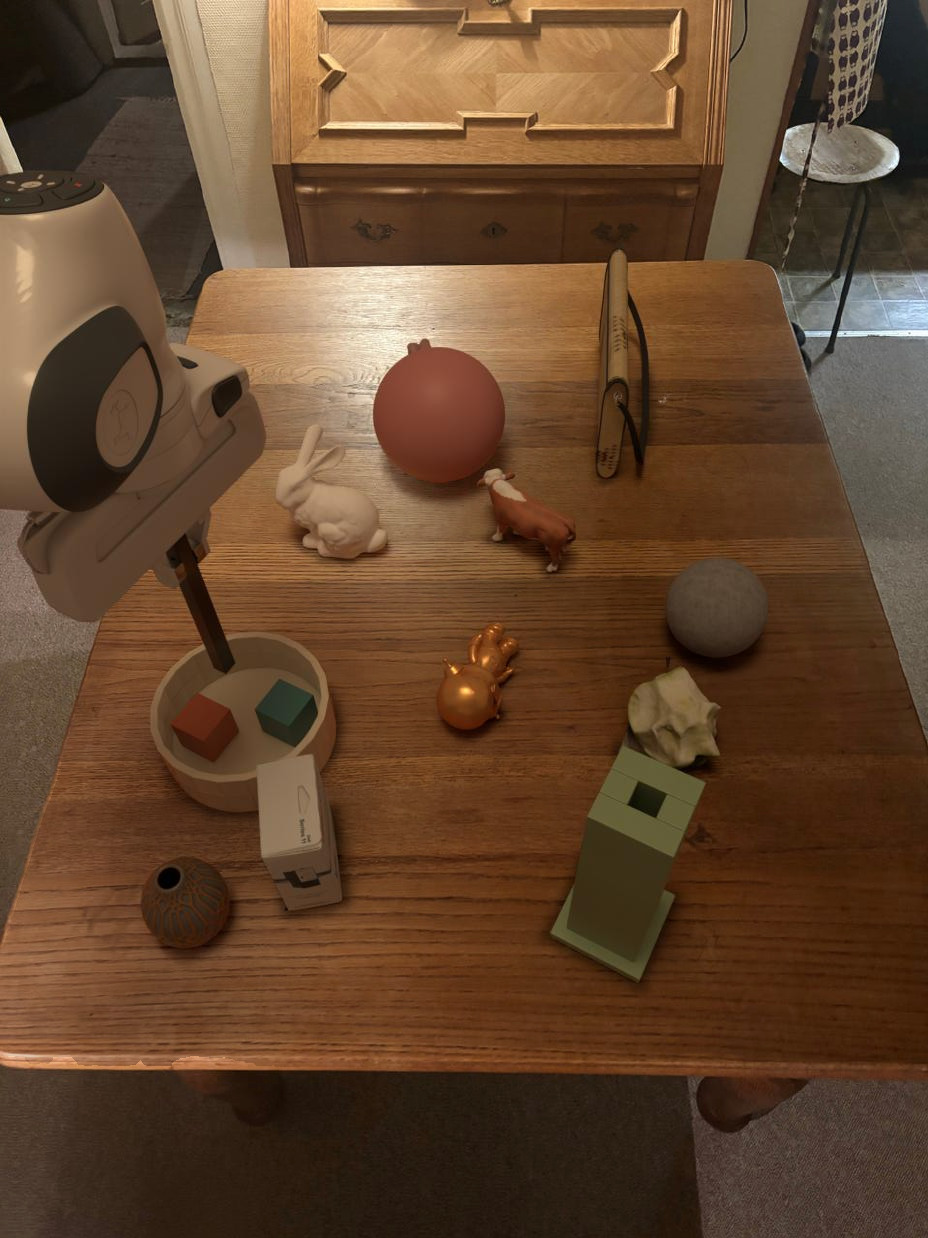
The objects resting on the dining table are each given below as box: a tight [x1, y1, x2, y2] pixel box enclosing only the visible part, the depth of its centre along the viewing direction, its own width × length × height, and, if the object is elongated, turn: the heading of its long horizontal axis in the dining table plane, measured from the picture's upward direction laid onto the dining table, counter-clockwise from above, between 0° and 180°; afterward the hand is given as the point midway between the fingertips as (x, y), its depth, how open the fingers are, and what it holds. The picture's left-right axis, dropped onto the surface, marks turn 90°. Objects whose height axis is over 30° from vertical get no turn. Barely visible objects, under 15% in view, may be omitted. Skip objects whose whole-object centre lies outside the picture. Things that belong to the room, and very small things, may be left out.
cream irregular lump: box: [618, 656, 722, 770], centre depth 86 cm, size 9×9×8 cm
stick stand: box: [549, 746, 707, 984], centre depth 69 cm, size 8×8×22 cm
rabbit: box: [274, 423, 389, 559], centre depth 101 cm, size 12×9×12 cm
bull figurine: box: [476, 468, 577, 573], centre depth 101 cm, size 4×13×8 cm, turn 46°
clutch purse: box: [595, 246, 650, 479], centre depth 112 cm, size 30×7×15 cm, turn 174°
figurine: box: [435, 621, 520, 730], centre depth 90 cm, size 8×6×12 cm
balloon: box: [372, 338, 506, 483], centre depth 108 cm, size 15×20×15 cm
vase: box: [140, 856, 231, 949], centre depth 75 cm, size 7×7×9 cm
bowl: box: [149, 631, 337, 813], centre depth 87 cm, size 16×17×6 cm
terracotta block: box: [170, 693, 239, 762], centre depth 87 cm, size 4×4×4 cm
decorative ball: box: [664, 557, 770, 659], centre depth 91 cm, size 10×10×10 cm
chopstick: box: [166, 533, 235, 674], centre depth 73 cm, size 1×1×18 cm
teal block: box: [255, 679, 318, 747], centre depth 88 cm, size 4×4×4 cm
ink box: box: [257, 754, 343, 912], centre depth 77 cm, size 9×5×12 cm, turn 10°
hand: (185, 567), depth 70 cm, fingers closed on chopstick, 1 cm apart
